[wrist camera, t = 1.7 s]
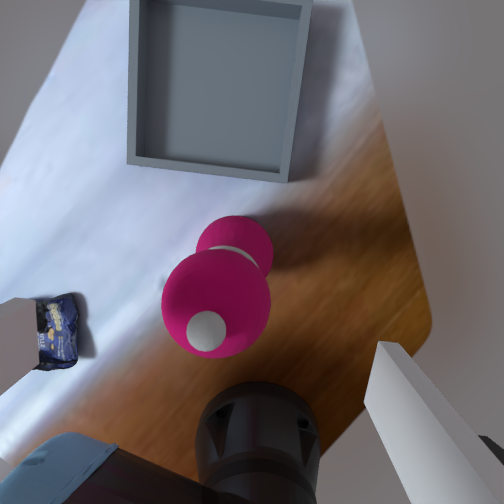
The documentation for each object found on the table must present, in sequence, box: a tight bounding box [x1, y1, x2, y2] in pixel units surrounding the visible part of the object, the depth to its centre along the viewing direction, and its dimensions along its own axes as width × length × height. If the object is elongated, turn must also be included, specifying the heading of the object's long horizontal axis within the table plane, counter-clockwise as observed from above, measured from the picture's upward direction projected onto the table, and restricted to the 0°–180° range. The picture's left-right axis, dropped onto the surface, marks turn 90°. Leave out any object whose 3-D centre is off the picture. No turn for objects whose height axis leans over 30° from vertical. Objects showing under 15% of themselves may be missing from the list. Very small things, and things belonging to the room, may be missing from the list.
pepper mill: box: [161, 216, 273, 358], centre depth 22 cm, size 7×7×20 cm
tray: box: [127, 0, 313, 183], centre depth 27 cm, size 15×15×3 cm
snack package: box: [32, 294, 79, 371], centre depth 33 cm, size 12×6×12 cm
